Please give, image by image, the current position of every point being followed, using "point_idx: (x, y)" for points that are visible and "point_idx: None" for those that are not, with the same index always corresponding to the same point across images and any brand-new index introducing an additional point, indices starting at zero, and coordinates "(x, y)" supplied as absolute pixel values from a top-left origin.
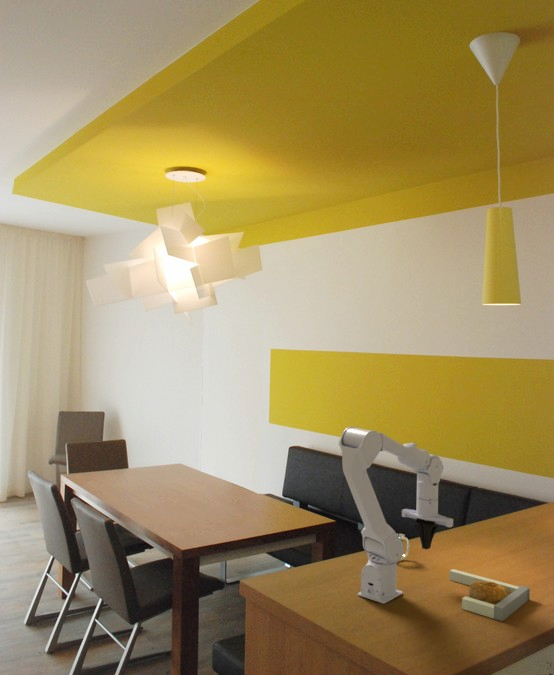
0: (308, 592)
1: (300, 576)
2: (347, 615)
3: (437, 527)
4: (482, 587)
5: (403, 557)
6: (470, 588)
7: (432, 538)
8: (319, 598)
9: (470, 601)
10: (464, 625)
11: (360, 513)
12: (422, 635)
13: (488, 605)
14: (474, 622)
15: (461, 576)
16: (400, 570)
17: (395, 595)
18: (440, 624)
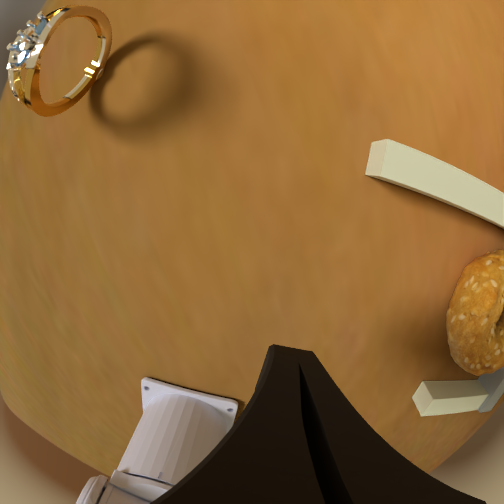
0: (78, 434)
1: (15, 370)
2: None
3: (447, 500)
4: (488, 371)
5: (104, 55)
6: (458, 355)
7: (349, 409)
8: (108, 451)
9: (438, 413)
10: (405, 447)
11: None
12: None
13: (471, 407)
14: (426, 429)
15: (428, 194)
16: (132, 180)
17: (229, 429)
18: None
